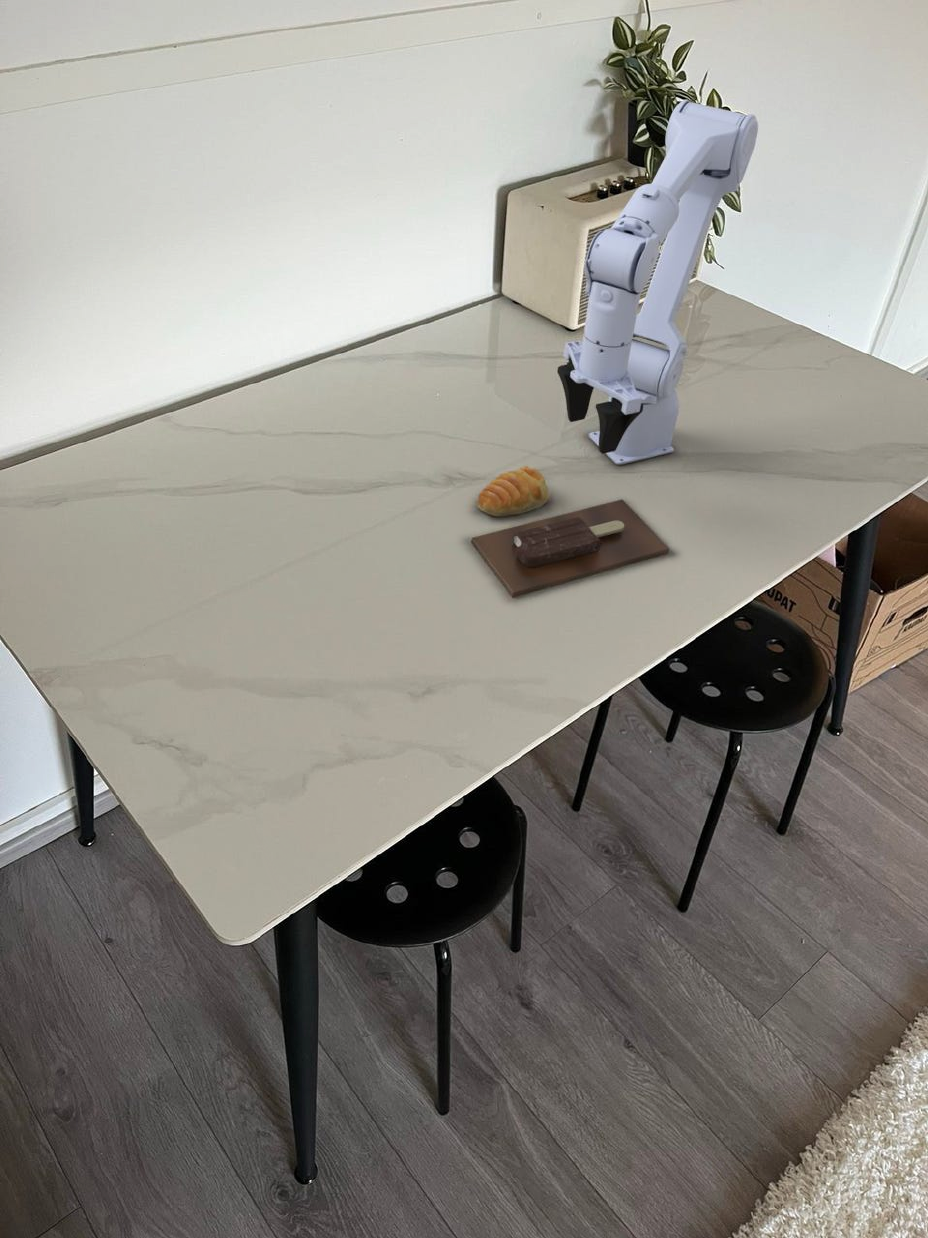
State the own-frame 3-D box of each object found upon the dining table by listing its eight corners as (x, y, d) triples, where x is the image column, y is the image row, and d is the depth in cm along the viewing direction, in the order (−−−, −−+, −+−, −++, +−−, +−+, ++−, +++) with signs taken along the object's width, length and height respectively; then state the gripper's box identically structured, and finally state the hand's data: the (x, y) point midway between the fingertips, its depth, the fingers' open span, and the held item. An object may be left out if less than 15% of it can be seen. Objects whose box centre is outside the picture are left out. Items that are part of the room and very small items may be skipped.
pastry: (498, 528, 130) (500, 503, 127) (464, 502, 134) (466, 477, 131) (553, 503, 135) (556, 479, 132) (519, 479, 138) (522, 454, 136)
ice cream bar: (611, 517, 132) (506, 544, 126) (613, 507, 131) (507, 534, 125) (633, 541, 128) (526, 570, 123) (635, 531, 127) (528, 559, 122)
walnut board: (621, 503, 135) (622, 498, 135) (668, 553, 128) (669, 548, 128) (470, 542, 128) (471, 537, 127) (512, 597, 121) (512, 592, 120)
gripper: (548, 313, 124) (536, 411, 133) (611, 370, 115) (594, 472, 124) (598, 304, 126) (583, 401, 136) (664, 360, 117) (643, 460, 126)
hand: (591, 434), depth 130 cm, fingers open, 7 cm apart
